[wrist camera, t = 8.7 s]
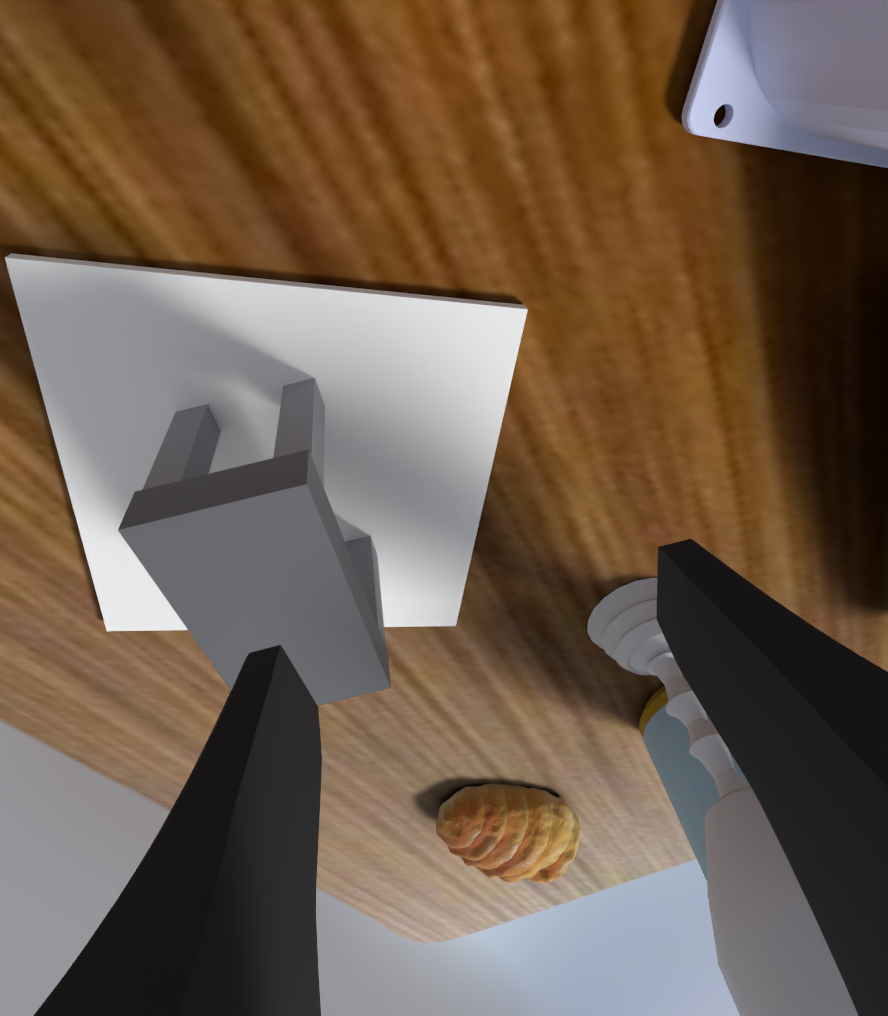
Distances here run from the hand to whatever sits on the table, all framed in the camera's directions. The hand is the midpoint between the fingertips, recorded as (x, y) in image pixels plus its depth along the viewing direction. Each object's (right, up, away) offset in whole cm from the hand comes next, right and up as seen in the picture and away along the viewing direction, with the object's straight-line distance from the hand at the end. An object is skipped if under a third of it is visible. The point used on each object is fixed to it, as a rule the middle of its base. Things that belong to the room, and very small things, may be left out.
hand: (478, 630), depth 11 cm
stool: (-6, +3, +9) cm, 12 cm away
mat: (-6, +3, +10) cm, 12 cm away
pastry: (+3, -17, +28) cm, 33 cm away
